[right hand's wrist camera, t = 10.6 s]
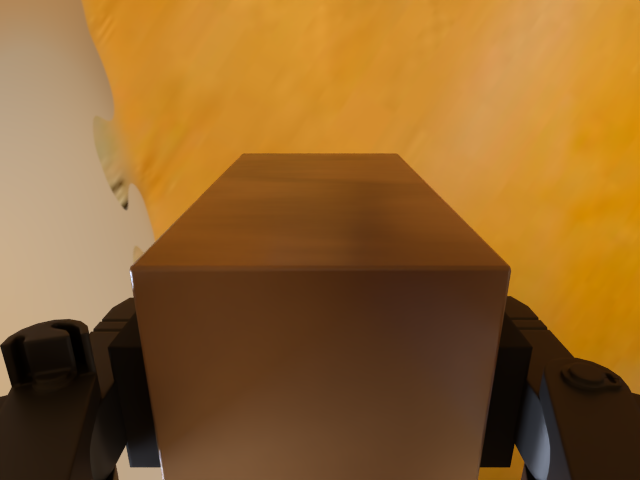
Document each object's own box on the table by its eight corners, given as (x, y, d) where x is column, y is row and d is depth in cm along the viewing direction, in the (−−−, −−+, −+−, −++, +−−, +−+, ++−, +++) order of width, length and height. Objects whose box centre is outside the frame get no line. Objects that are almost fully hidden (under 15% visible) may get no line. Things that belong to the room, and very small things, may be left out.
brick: (250, 298, 19) (172, 549, 9) (241, 153, 17) (126, 267, 7) (389, 298, 19) (467, 549, 9) (398, 153, 17) (513, 267, 7)
